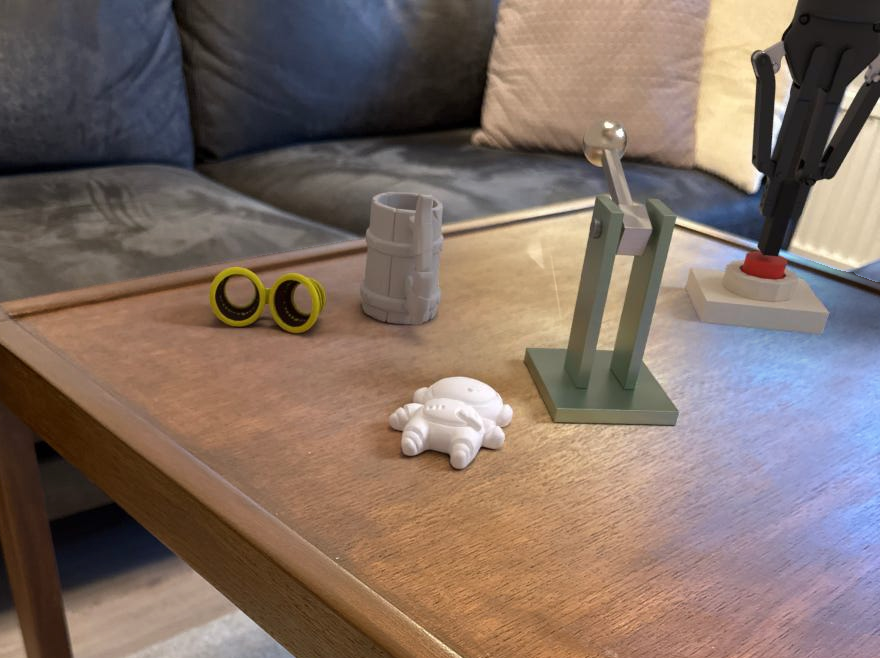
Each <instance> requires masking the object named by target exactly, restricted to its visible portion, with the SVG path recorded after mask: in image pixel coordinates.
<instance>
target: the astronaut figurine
mask: <svg viewBox="0 0 880 658" xmlns="http://www.w3.org/2000/svg"><path fill="white" fill-rule="evenodd" d="M412 401H413V402H412V403H405V404H404V406H403V407H398V408H396V409H395V411H393V413H391V414H390V415H389V417H388V423H389V425H390V427H391V428H392V429H393V430H396V431H401V432H402V434H401V440H400V441H401V442H400V446H401V451H402V453H403V454H404V456H408V457H413V456H416V455H419V454H421V453H423V452H425V451H428V450H431V451H436V452H439V453H444V454H448V455H449V456H450V458H449V459H450V460H449V461H450V465H451V466H452V468H454V469H457V470H461V469H466V467H467V466H468V465H469V464H471V462H472V461H473V460H475V458H476V456H477V454H478V452H479V451H480V449H481V447H483V448H488V449H492V450H498V449H500V448H501V447H502V445H503V444H504V443H505V439H506V434H505V433H504V430H503V428H505V427H507V426H508V425H509V424H511V422H512V419H513V415H514V410H513V408H512V407H511V406H510V405H509V404H508V403H505V404H504V401H503V398H502V397H501V394H499V393H498V392H497V391H496V390H495V389H493V388H492V387H491V386H490V385H489V384H487V383H485V382H482V381H480V380H478V379H475V378H471V377H466V376H451V377H445V378H442V379H440V380H437V381H436V382H435V383H432V384H431V385H430V386H429V387H426V386H425V387H420V388H418V389H417V390H415V392H414V394H413V398H412Z"/></svg>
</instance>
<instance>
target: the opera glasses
mask: <svg viewBox="0 0 880 658" xmlns="http://www.w3.org/2000/svg"><path fill="white" fill-rule="evenodd" d="M237 276H242V277H245V278H247V279H248V280H249V281H250V282H251V283H252V285H253V288H254V295H253V298H252V299H251V301H250V302H249V303H248V304H246V305H238V304H237V305H236V304H234V303H233V302H232V301H231V300H230V299H229V297H228V296H227V292H226V289H227V284H228V282H229V281H230V280H231V279H232V278H234V277H237ZM300 285H302V286H304V287H305V288H306V290H307V292H308V293H309V295H310V299H311V311H310V313H309V312H303V311H302V310H300V308H299V307H298V306H297V304H296V302H295V292H296V290H297V288H298V287H299V286H300ZM208 301H209V305H210V307H211V310H212V311H213V313H214V315H215V317H217V319H219V320H220V321H221V322H223V323H224V324H226V325H228V326H231V327H236V328H238V327H241V328H242V327H245V326H249V325H251V324H252V323H254V322H255V321H257V320H258V319H259V318H260V317H261V315H262V314H263V313H264V309H265V306H266V305H268V307H269V311H270V314H271V316H272V318H273V320H274V321H275V323H276V324H277V325H278V326H279V327H280V328H282V330H285V331H286V332H289V333H294V334H299V333H304V332H306V331H308V330H309V329H311V328H312V327H313V326H314V324H315V323H316V322H317V320H318V317H319V315H320V314H321V313H322V312H323V311H324V309H325V307H326V304H327V303H326V302H327V295H326V291H325V288H324V287H323V286H322V284H321V283H320V282H319V281H317V279H314V278H312V277H306V276H304V275H303V274H300V273H297V272H287V273H285V274H283V275H281V276H280V277H278V278H277V279H276V280H275V281H274V282H273V284H272V286H271V287H270V288H268V287H266V286H264V285H263V282H262V281H261V279H260V278H259V277H258V275H256V273H254V272H253V271H251V270H250V269H248V268H245V267H242V266H241V267H240V266H233V267H227V268H225V269H223V270H222V271H220V272H219V273H218V274H217V275H216V276H215V277H214V278H213V280H212V282H211V285H210V287H209V292H208Z"/></svg>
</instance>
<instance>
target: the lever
mask: <svg viewBox="0 0 880 658" xmlns="http://www.w3.org/2000/svg"><path fill="white" fill-rule="evenodd" d="M628 143H629V136H628V131H627V129H626V127H625V125H624V124H623V123H622V122H621V121H620V120H619V119H617V118H615V117H611V116H604V117H600V118H598V119H596V120H594V121H593V122H591V124H590V125H589V126H588V127H587V128H586V130H585V132H584V135H583V139H582V150H583V154H584V156H585V157H586V159H587V161H589V162H590V163H591V164H592V165H594V166H595V167H600V168H601V167H602V169H603V173H604V177H605V180H606V184H607V187H608V191H609V194H610V199H611V200H612V201H613V202H614V203H615V204H616V205H617V206H618V207H619V208H620V209H621V210H622V211H623V212H624V217H623V222H622V227H621V232H620V237H619V241H618V246H617V251H616V256H631V257H634V256H643V254H644V252H645V249H646V246H647V244H648V241H649V238H650V236H651V233H652V230H653V228H652V225H651V222H650V218H649V215H648V212H647V209H646V206H645V205H642V204H641V205H639V204H634V203H633V199H632V195H631V191H630V188H629V185H628V182H627V179H626V176H625V172H624V169H623V165H622V162H621V159H622V158H623V156H624V155H625V153H626V151H627V148H628Z"/></svg>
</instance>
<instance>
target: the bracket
mask: <svg viewBox="0 0 880 658" xmlns="http://www.w3.org/2000/svg"><path fill="white" fill-rule="evenodd" d="M594 199H595V200H594V206H593V210H592V215H591V221H590V224H589V232H588V236H587V242H586V248H585V252H584V258H583V263H582V268H581V274H580V278H579V283H578V290H577V295H576V300H575V304H574V305H575V306H574V310H573V311H574V312H573V316H572V320H571V321H572V322H571V325H570V326H571V327H570V332H569V338H568V343H567V347H566V348H554V347H553V348H552V347H550V348H549V347H525V353H524V358H523V361H524V363H525V365H526V367H527V370H528V371H529V373H530V375H531V377H532V379H533V382H534V383H535V386H536V387H537V388H536V389H538V391H539V394H540V396H541V398H542V400H543V402H544V404H545V406H546V408H547V410H548V412H549V414H550V416H551V419H552V420H553V422H554V423H571V424H573V423H574V424H611V425H613V424H614V425H615V424H616V425H657V426H660V425H661V426H676V425H677V421H678V418H679V414H680V411H679V409H678V408H677V406H676V405H675V403H674V402H673V400H671V398H670V397H669V395H668V394H667V392H666V391H665V389H664V388H663V387H662V385H661V384H660V383H659V381H658V379H657V378H656V377H655V376H654V374H653V373H652V372H651V370H650V369H649V367H648V366H647V365H646V363H645V362H644V360H643V359H644V355H645V350H646V346H647V342H648V338H649V333H650V331H651V330H650V329H651V325H652V322H653V317H654V313H655V308H656V305H657V302H658V301H657V300H658V296H659V292H660V288H661V284H662V280H663V275H664V271H665V269H666V263H667V259H668V256H669V255H668V254H669V252H670V251H669V250H670V246H671V242H672V238H673V233H674V229H675V225H676V221H677V218H678V215H677V214H676V213H675V212H673V211H672V210H671V209H670V208H669V206H667V205H666V204H665V203H664V202H663V201H661V200H660V198H646V200H645V205H644V206H646V209H647V212H648V215H649V218H650V222H651V225H652V228H653V230H652V233H651V236H650V238H649V241H648V244H647V246H646V249H645V252H644V254H643V256H633V260H632V264H631V267H630V268H631V269H630V273H629V278H628V283H627V287H626V292H625V296H624V301H623V306H622V309H621V314H620V320H619V323H618V328H617V333H616V338H615V341H614V346H613V349H612V350H611V349H610V350H609V349H597V348H598V347H597V346H598V342H599V337H600V332H601V328H602V323H603V318H604V314H605V310H606V309H605V308H606V303H607V299H608V293H609V289H610V285H611V279H612V275H613V270H614V266H615V260H616V256H617V255H616V251H617V246H618V241H619V237H620V232H621V227H622V222H623V217H624V212H623V211H622V210H621V209H620V208H619V207H618V206H617V205H616V204H615V203H614V202H613V201H612V198H611V197H609V196H608V195H595V198H594Z"/></svg>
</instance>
